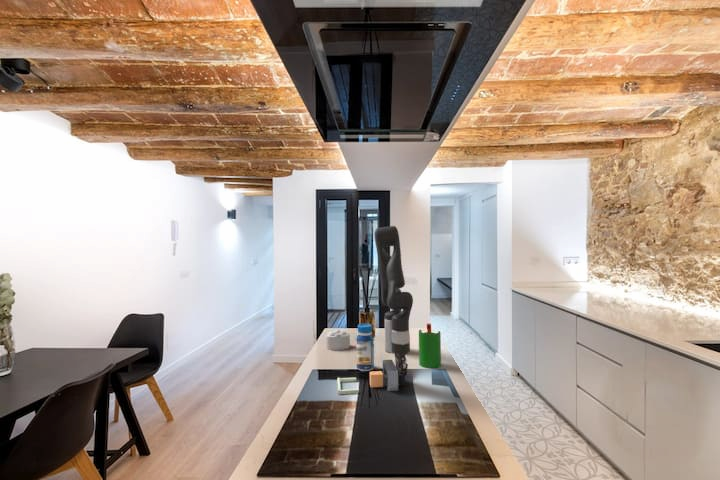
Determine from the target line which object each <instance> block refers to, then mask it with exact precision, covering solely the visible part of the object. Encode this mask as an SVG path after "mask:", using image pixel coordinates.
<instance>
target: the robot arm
mask: <svg viewBox="0 0 720 480" xmlns="http://www.w3.org/2000/svg"><path fill="white" fill-rule="evenodd" d="M374 242H375V247H376V253H377V261H378V262H377V263H378V275H379V280H380V290H381V294H380V295H381V296H380V298H381V303H382V305H383V306H386V307H388V308H389V309H390V310H389V311H386V312H385V313H384V351H385V352H387V353H389V354H394V364H395V366H396V368H397V370H398V374H399V384H400V386H405V385H406V376H408V375H407V374H408V367H409V366H408V363H407V361H408V360H407V357H406V355H408V354H409V353H410V351H411V344H410V343H411V341H410V339H411V337H410V325H409V324H410V315H411V311H412V308H413V303H414V298H413V295H412V293H410V292H408V291H402V290H401V289H402V288H404V287H405V285H406V282H405V276H404V271H403V265H402V251H401V243H400V242H401V240H400V234H399V230H398V228H397V226H395V225H389V226H382V227H381V226H380V227H378V228H375V230H374ZM387 247H393V251H392V254H391V255H390V254H389V253H388V252H387V251H386V249H385V248H387ZM404 384H405V385H404Z"/></svg>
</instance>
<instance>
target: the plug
mask: <svg viewBox="0 0 720 480" xmlns="http://www.w3.org/2000/svg"><path fill="white" fill-rule="evenodd" d="M405 385H406V383H405V384H404V385H403V386H405ZM369 386H370V388H384V387H387V375H383V370H378V371H377V370H376V371H373V370H371V371H369ZM399 386H401V385H400V384H399V374H398V387H399Z"/></svg>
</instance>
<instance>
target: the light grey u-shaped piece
mask: <svg viewBox="0 0 720 480" xmlns="http://www.w3.org/2000/svg"><path fill="white" fill-rule="evenodd" d="M336 380H337V381H336V382H337V392H338V393H337V394H338V395H350V394H359V393H360V388H353V389H350V388H349V389H348V388H347V389H341V383H349V382H357V377H337V379H336Z"/></svg>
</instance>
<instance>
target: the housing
mask: <svg viewBox="0 0 720 480" xmlns="http://www.w3.org/2000/svg"><path fill="white" fill-rule="evenodd" d="M382 373H383V375H387V386H386V389H387V392H398V391H399V386H398V370H397V368H396V364H395V362H394V360H393V359H382Z"/></svg>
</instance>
